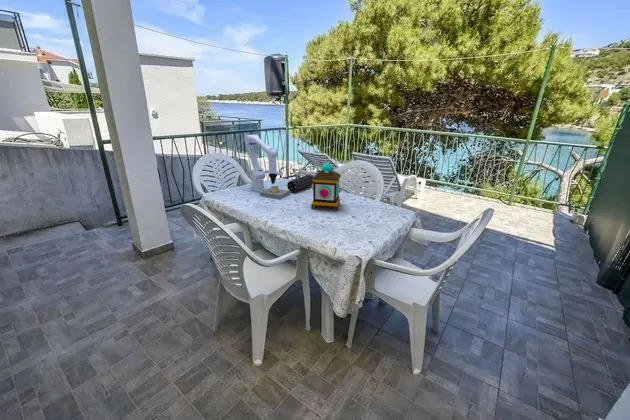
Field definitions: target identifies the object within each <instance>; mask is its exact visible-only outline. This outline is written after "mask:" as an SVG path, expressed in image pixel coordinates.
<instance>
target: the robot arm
mask: <svg viewBox="0 0 630 420" xmlns="http://www.w3.org/2000/svg"><path fill="white" fill-rule="evenodd" d="M243 141H244V143H245V147H246V149H247V153H248V155H249V160H250V162H251V165H252V170H251V177H252V179H251V191H252V190H254V191H253V192H258V191H260V192H262V191H263V190H267V188H265V187H264V186H265V185H264V184H265V183H264V180H265V178H266V174H268V178H269V179H270V183H271V184H272V185H273V184H275V183H276V180H277V177H278V176H282V174H283V173H282V171H277V170H278V169H277V167H278V166H277V157H278V155H279V152H278V150H277V149H276V148H273V147H272V146H270V145H269V143H265V142H264V141H262V139H261V138H260V136H259V135H258V134H246V135H245V136H244V138H243ZM257 145H258V146H259V147H260V148H261V150H262V152H264V153H265V154H266V157H267V160H268V169H266V170H264V168H262V167H261V166H260V162H259V159H258V156H257V153H256V150H255V147H256V146H257ZM260 192H259V193H260Z"/></svg>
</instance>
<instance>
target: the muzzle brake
mask: <svg viewBox="0 0 630 420" xmlns="http://www.w3.org/2000/svg"><path fill="white" fill-rule="evenodd" d="M314 176H315V175H312V174H305V175H303V176H301V177H298V178H296V179H295V178H294V179H292V180H289V181H288V182H287V184H286V187H287V189H288V191H290V193H291V194H292V193H296V192H298V191H300V190H301V191H302V189H307V188H308V187H310V186H313V181H312V178H313V177H314Z"/></svg>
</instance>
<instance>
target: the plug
mask: <svg viewBox="0 0 630 420" xmlns="http://www.w3.org/2000/svg"><path fill="white" fill-rule="evenodd" d="M270 188H271V192H273V193H277V192H279V189H280V187H279V186H278V185H272V186H270Z"/></svg>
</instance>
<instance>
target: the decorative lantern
mask: <svg viewBox="0 0 630 420" xmlns="http://www.w3.org/2000/svg"><path fill="white" fill-rule="evenodd" d="M313 176H314V177H313V178H312V181H313V185H311V186H312V187H311V189H312V192H313V193H312V194H313V195H312V196H313V197H312V202H311V205H310V208H311V210H314V209H315V208H314V207H325V208H327V207H328V208H334V211H335V212H337V211H338V206H339V204H340V203H341V198H340V195H339V194H341V192H342V188H341V187H340V179H341V176H342V174H341V173H339V172H336V171H335V170H334V169H333V166H332V165H331V164H330V163H329V162H325V163H324V164H323V165H322V166H321V170H319V171H318V172H316V174H314V175H313Z"/></svg>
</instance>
